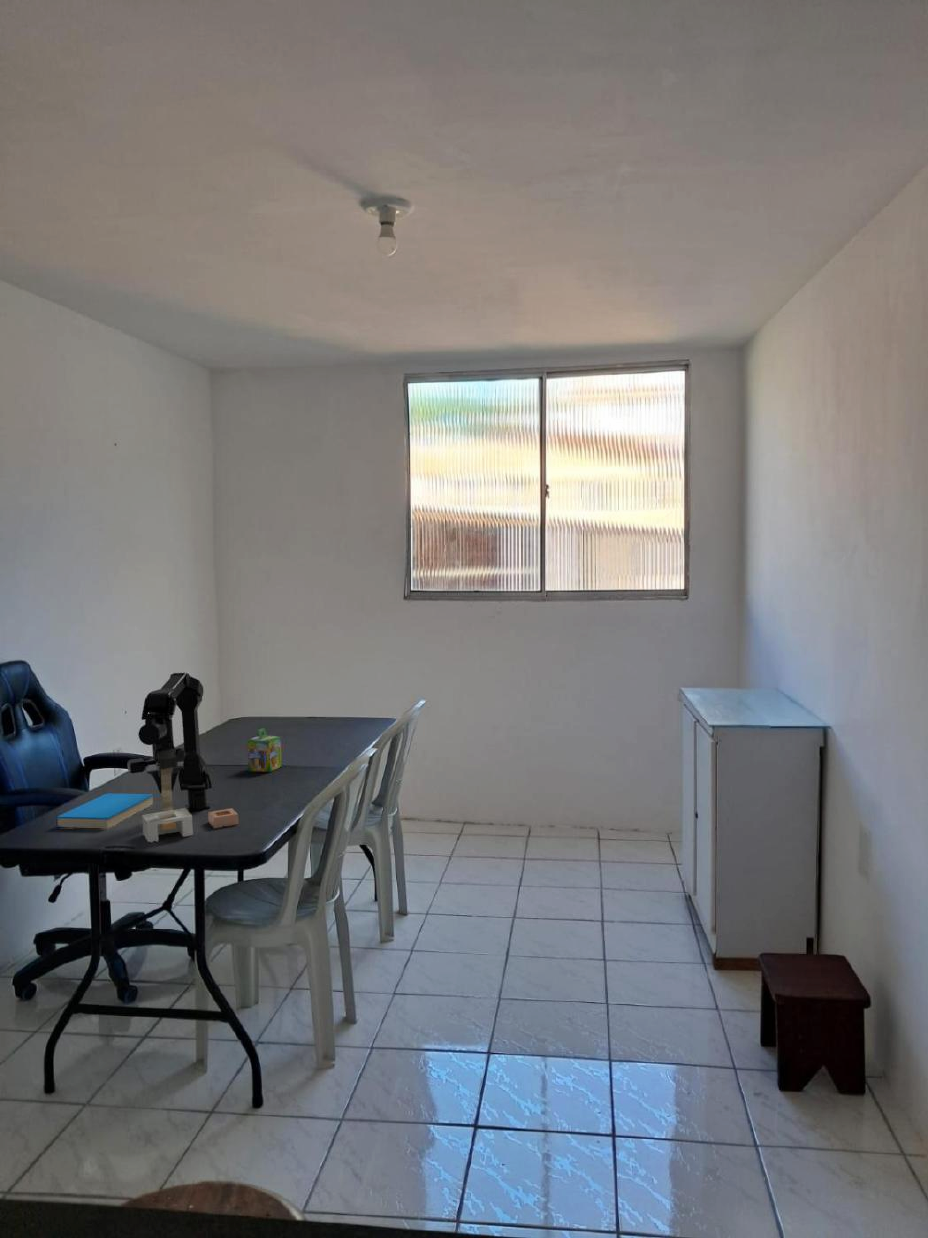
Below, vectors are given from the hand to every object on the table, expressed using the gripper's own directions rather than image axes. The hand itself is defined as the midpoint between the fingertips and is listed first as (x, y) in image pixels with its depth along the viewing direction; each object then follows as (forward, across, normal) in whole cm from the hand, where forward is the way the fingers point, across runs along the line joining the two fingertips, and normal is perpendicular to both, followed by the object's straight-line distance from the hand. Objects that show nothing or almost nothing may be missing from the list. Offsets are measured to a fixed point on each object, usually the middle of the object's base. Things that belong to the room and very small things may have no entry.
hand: (166, 792), depth 255 cm
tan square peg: (+5, 0, 0) cm, 5 cm away
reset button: (+10, 0, 0) cm, 10 cm away
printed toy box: (+13, +45, +61) cm, 77 cm away
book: (+13, -13, +32) cm, 36 cm away
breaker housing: (+12, 0, 0) cm, 13 cm away
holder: (+12, +16, +3) cm, 20 cm away
